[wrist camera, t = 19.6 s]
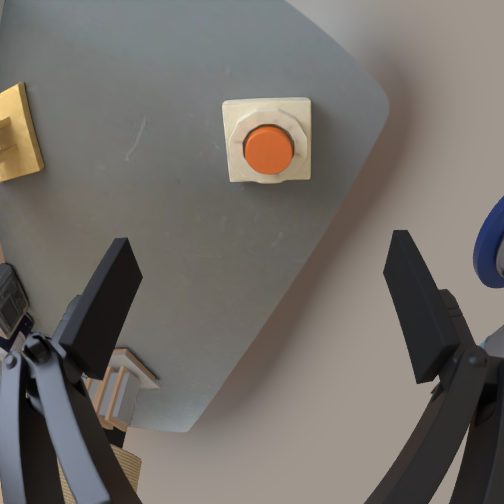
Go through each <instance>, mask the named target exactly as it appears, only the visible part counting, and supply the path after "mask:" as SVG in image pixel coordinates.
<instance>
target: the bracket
mask: <svg viewBox="0 0 504 504" xmlns="http://www.w3.org/2000/svg"><path fill="white" fill-rule="evenodd" d="M43 168H45V165H44V162H43V159H42V156H41V152H40V149H39V145H38V142H37V138H36V135H35V131H34V127H33V123H32V119H31V115H30V110H29V106H28V101H27V96H26V91H25V86H24V82H22V83H19V84H17V85H15V86H13V87H11V88H9V89H7V90H6V91H4V92H2V93H0V182H3V181H6V180H9V179H13V178H16V177H20V176H23V175H27V174H30V173H34V172H38V171H41V170H42V169H43Z"/></svg>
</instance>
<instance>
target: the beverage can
mask: <svg viewBox="0 0 504 504" xmlns="http://www.w3.org/2000/svg"><path fill="white" fill-rule="evenodd" d="M32 327H33V323H32V319H31V317H30V316H29V315H28V314H27V313H25V314H24V316H23V317H22V319H21V321H20V322H19V324H18V326H17V327H16V329H15V331H14V333H13V334H12V336H11V337H10V338H9V339H5V338H3V337H1V336H0V360H1V361H2V362H3V359H4V358H5V356H6V355H7V354H8V353H9V352H11V351H14V350H16V351H18V352H20V351H21V349H22V347H23V344H24V342H25V340H26V339H27V337H28V335H29V333H30V331H31V329H32Z"/></svg>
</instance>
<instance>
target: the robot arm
mask: <svg viewBox="0 0 504 504" xmlns="http://www.w3.org/2000/svg"><path fill="white" fill-rule="evenodd" d="M494 265H495V268H496V269H497V271H498V272H499V274H500V275H501V276H502V277H503V278H504V231H503V233H502V235H501V237H500V239H499V241H498V243H497V246H496V249H495V253H494ZM383 274H384V277H385V279H386V282H387V285H388V288H389V291H390V294H391V297H392V299H393V303H394V305H395V309H396V312H397V315H398V318H399V321H400V325H401V328H402V331H403V334H404V337H405V341H406V344H407V348H408V352H409V355H410V359H411V363H412V367H413V371H414V374H415V378H416V383H417V384H420V383H425V382H430V381H433V380H434V379H435V377H436V376H437V375H439V378H440V382H439V384H438V385H437V386H436V387H435V388H434V389H433V391H432V392H431V393H432V394H433V396H432V397H431V399H430V402H429V403H428V405H427V407H426V409H425V411H424V413H423V415H422V417H421V419H420V420H419V422H418V424H417V426H416V428H415V429H414V431H413V433H412V434H411V436H410V438H409V440H408V441H407V443H406V445H405V446H404V448H403V449H402V451H401V452H400V454H399V456H398V457H397V459H396V461H395V462H394V463H393V465H392V466H391V468H390V469H389V471H388V472H387V474H386V475H385V476H384V478H383V479H382V481H381V482H380V483H379V485H378V486H377V487H376V489H375V490H374V492H373V493H372V494H371V495H370V496H369V498H368V499H367V500H366V502H365V503H364V504H428V503H429V502H430V500H431V499H432V497H433V495H434V493H435V492H436V490H437V489H438V487H439V485H440V483H441V482H442V480H443V478H444V476H445V474H446V473H447V471H448V469H449V467H450V465H451V463H452V461H453V459H454V457H455V455H456V453H457V451H458V449H459V447H460V445H461V442H462V440H463V438H464V436H465V433H466V431H467V429H468V426H469V424H470V426H469V432H468V437H467V442H466V446H465V450H464V455H463V459H462V463H461V466H460V470H459V474H458V477H457V481H456V484H455V487H454V490H453V493H452V496H451V499H450V502H449V504H504V325H503V326H502V327H500V328H499V329H498V330H497V331H496V332H494V333H493V334H492V335H491V336H488V337H487V338H486V339H485V341H484V342H483V343H482V344H481V345H479V346H477V345H476V344H475V342H474V339H473V337H472V335H471V332H470V330H469V327H468V325H467V323H466V321H465V318H464V316H463V314H462V312H461V310H460V309H459V305H458V303H457V301H456V299H455V297H454V296H453V295H452V294H451V293H450V292H449V291H448V290H447V289H442V290H438V288H437V286H436V284H435V282H434V280H433V278H432V276H431V274H430V272H429V270H428V267H427V266H426V264H425V262H424V260H423V258H422V256H421V254H420V252H419V250H418V248H417V247H416V245H415V243H414V241H413V239H412V237H411V235H410V234H409V232H408V231H407V230H394V231H393V235H392V240H391V244H390V248H389V252H388V256H387V260H386V264H385V268H384V271H383ZM142 278H143V276H142V274H141V272H140V269H139V267H138V264H137V261H136V259H135V256H134V254H133V251H132V248H131V246H130V243H129V240H128V238H115V239H114V241H113V242H112V244H111V246H110V247H109V249H108V251H107V252H106V254H105V255H104V257H103V259H102V260H101V262H100V264H99V266H98V267H97V269H96V271H95V272H94V274H93V276H92V278H91V279H90V281H89V283H88V285H87V287H86V288H85V290H84V292H83V294H82V295H77V296H76V297H75V298H74V299H73V300H72V301H71V302H70V304H69V306H68V307H67V309H66V313H64V315H63V317H62V320H61V321H60V323H59V325H58V327H57V329H56V331H55V333H54V335H53V337H52V339H51V341H50V342H49V341H48V339H47V338H46V337H45V336H44V335H43V334H42V333H37V332H36V333H34V334H31V335H30V336H29V337H28V338H27V339H26V340H25V342H24V344H23V347H22V351H23V352H24V354H25V355H26V356H25V357H23V356H22V355H21V354H20V352H18V351H16V350H14V351H11V352H9V353H8V354H7V355H6V356H5V358H4V359H3V363H2V369H1V377H0V479H1V488H2V496H3V502H4V504H65V500H64V495H63V490H62V485H61V480H60V474H59V468H58V462H57V458H58V461H59V464H60V466H61V469H62V471H63V474H64V477H65V479H66V481H67V484H68V486H69V489H70V491H71V493H72V495H73V498H74V500H75V502H76V504H142V502H141V501H140V499H139V497H138V496H137V494H136V492H135V491H134V489H133V487H132V485H131V484H130V482H129V480H128V478H127V477H126V475H125V473H124V471H123V469H122V467H121V465H120V464H119V462H118V460H117V458H116V456H115V454H114V452H113V450H112V448H111V446H110V443H109V441H108V439H107V437H106V435H105V433H104V430H103V428H102V426H101V424H100V421H99V419H98V417H97V414H96V412H95V409H94V407H93V404H92V402H91V399H90V396H89V394H88V391H87V388H86V386H85V383H84V381H83V379H82V378H81V376H82V373H83V372H84V373H85V374H86V375H87V376H88V377H89V378H91V379H96V380H101V381H103V379H104V376H105V373H106V370H107V367H108V364H109V361H110V359H111V356H112V353H113V350H114V348H115V345H116V342H117V340H118V337H119V334H120V332H121V329H122V327H123V324H124V321H125V319H126V316H127V314H128V311H129V309H130V306H131V304H132V302H133V299H134V297H135V294H136V292H137V290H138V287H139V285H140V283H141V280H142ZM26 393H27V398H26Z"/></svg>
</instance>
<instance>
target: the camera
mask: <svg viewBox="0 0 504 504" xmlns="http://www.w3.org/2000/svg"><path fill="white" fill-rule="evenodd" d="M28 307H29V303H28V301H27V299H26V297H25V295H24V292H23V290H22V288H21V286H20V283H19V281H18V279H17V277H16V275H15V272H14V270H13V268H12V266H8V265H7V264H6V263H1V264H0V336H1V337H3V338H5V339H9V338H10V337H11V336H12V334H13V333H14V331H15V329H16V327H17V326H18V324H19V322H20V321H21V319H22V317H23V316H24V314H25V313H26V311H27V309H28Z"/></svg>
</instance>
